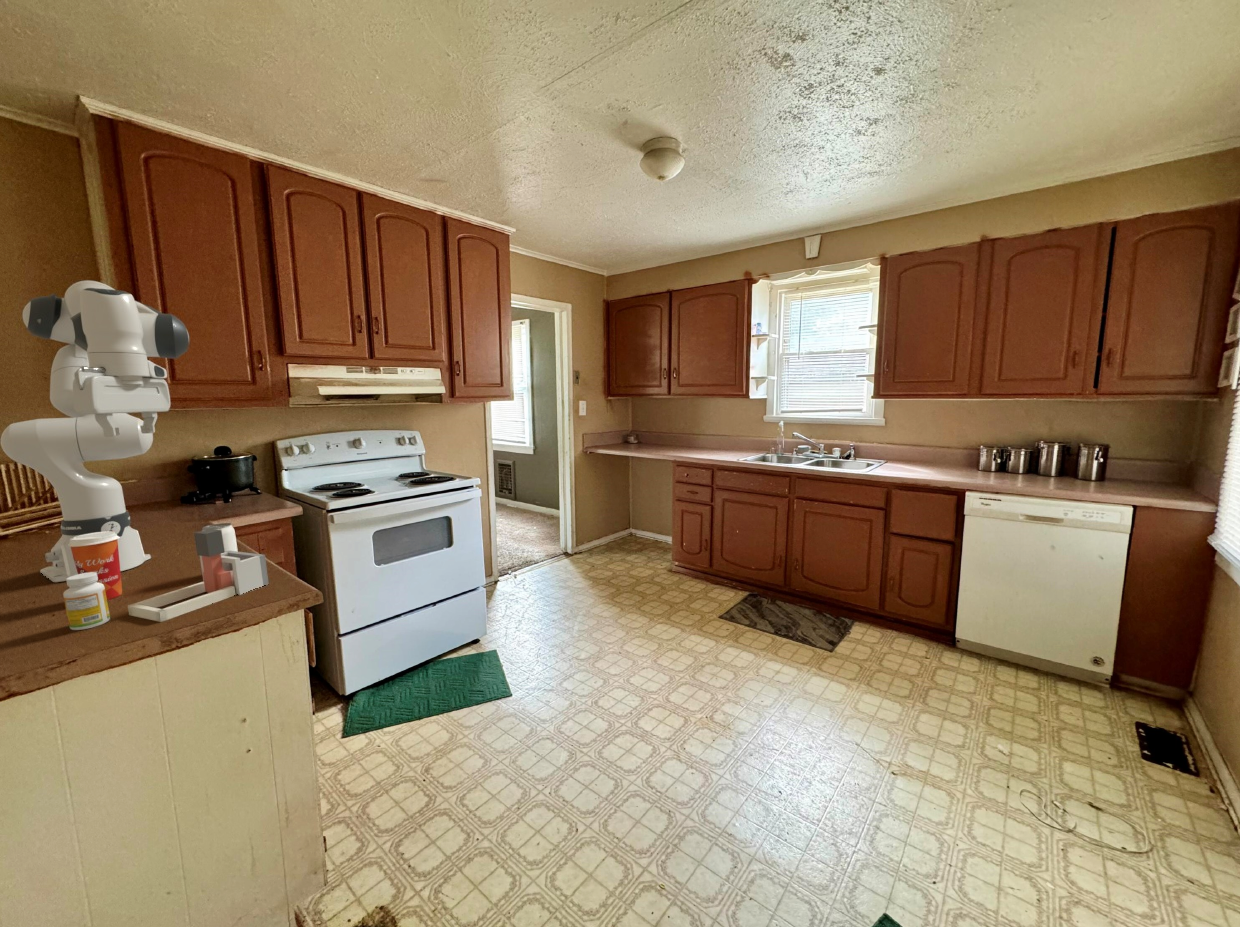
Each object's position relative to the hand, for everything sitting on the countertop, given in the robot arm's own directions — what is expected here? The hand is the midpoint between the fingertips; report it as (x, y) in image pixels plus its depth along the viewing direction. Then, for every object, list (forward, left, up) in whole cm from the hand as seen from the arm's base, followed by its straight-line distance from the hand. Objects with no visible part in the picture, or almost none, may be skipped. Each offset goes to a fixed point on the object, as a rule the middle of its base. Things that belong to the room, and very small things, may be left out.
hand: (131, 434), depth 106 cm
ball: (+14, +7, -33) cm, 37 cm away
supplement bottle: (+7, -14, -35) cm, 38 cm away
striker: (+14, +4, -35) cm, 38 cm away
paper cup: (-9, -5, -35) cm, 37 cm away
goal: (+14, +7, -35) cm, 38 cm away
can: (+1, +13, -35) cm, 38 cm away
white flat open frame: (+14, -2, -35) cm, 38 cm away
